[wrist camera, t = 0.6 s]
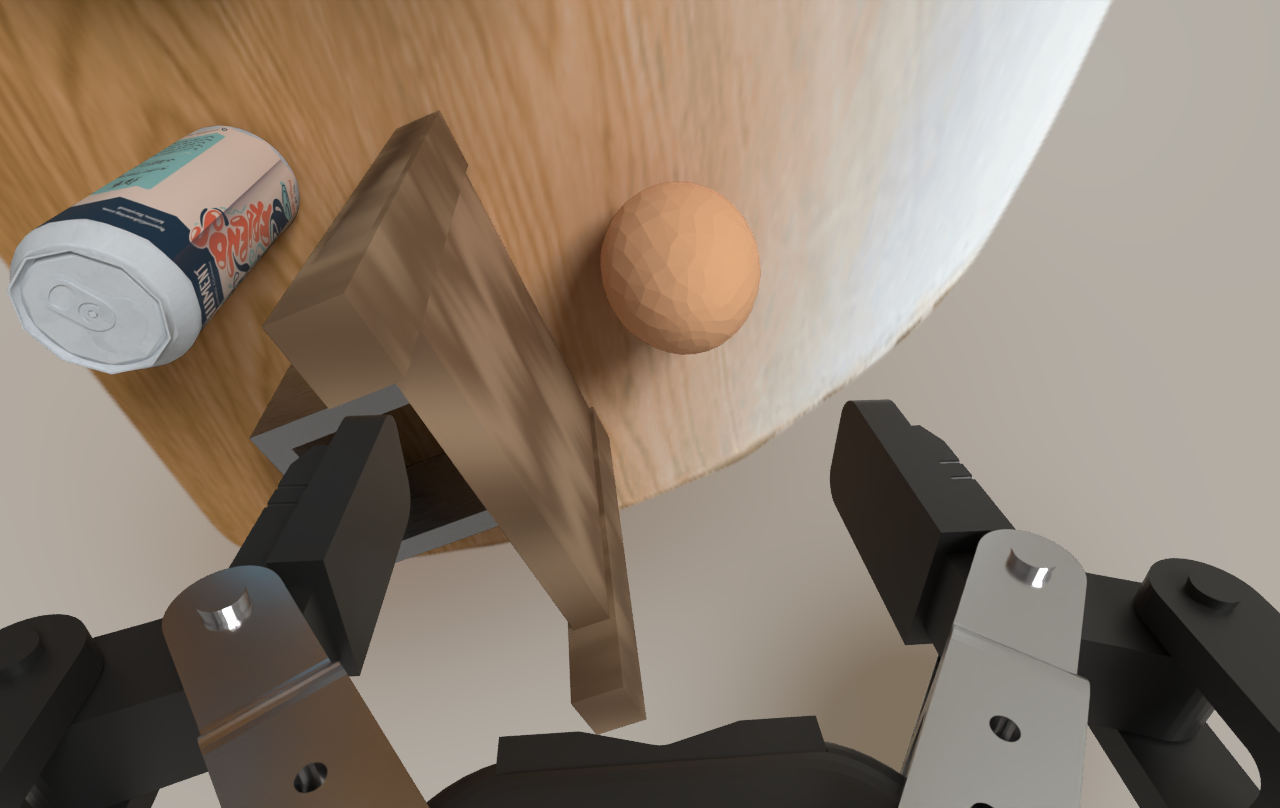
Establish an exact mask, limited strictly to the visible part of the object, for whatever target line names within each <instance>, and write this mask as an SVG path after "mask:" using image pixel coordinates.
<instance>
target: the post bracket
mask: <svg viewBox="0 0 1280 808" xmlns="http://www.w3.org/2000/svg"><path fill="white" fill-rule="evenodd" d="M407 404H409V401H408V400H407V399H406V397H405V396H404V395H403V393H402V392H401V390H400V389H399V388H398V386H397V385H396V384H393V385H390V386H388V387H385V388H383V389H380V390H378V391H375V392H372V393H370V394H367V395H365V396H362V397H360V398H357V399H355V400H352V401H349V402H347V403H344V404H342V405H339V406H337V407H334V408H331V409H329V408H328V407H327V406H326V405H325V404H324V402H323V401H322V400H321V399H320V397H319V396H318V395H317V394H316V393H315V391H314V390H313V389H312V388H311V387H310V385H309V384H308V383H307V382H306V380H305V379H304V378H303V377H302V376H301V374H300V373H299V372H298V371H297V369H296V368H295V367H294V366H293V365H292V364H291V365H290V367H289V368H288V370H287V372H286V374H285V376H284V377H283V379H282V381H281V383H280V385H279V386H278V388H277V390H276V392H275V393H274V395H273V397H272V399H271V401H270V402H269V404H268V406H267V408H266V410H265V411H264V413H263V415H262V417H261V419H260V420H259V422H258V424H257V426H256V428H255V429H254V431H253V433H252V435H251V436H250V438H249V439H250V440H251V441H252V442H253V443H254V444H255V445H256V446H257V447H258V448H259V450H260V451H261V452H262V453H263V454H264V455H265V456H266V457H267V458H268V459H269V460H270V461H271V462H272V463H273V464H274V465H275V466H276V468H277V469H278V470H279V471H280V472H281V473H282V474H283V475H285V473H286V471H287V469H288V468H289V466H290V464H292V463H293V462H294V461H295V460H297V459H298V458H299V457H300V456H302V455H303V454H304V453H306V452H307V451H308V450H309V449H311V448H312V447H313V446H320V445H329V444H330V442H331V440H332V439H333V437H334V435H335V433H336V431H337V429H338V427H339V426H340V424H341V422H342V420H343V419H344V418H345V417H346V416H362V415H381V414H384V413H386V412H389V411H391V410H394V409H396V408H399V407H402V406H404V405H407ZM406 472H407V477H408V482H409V487H410V514H409V519H408V523H407V526H406V529H405V533H404V536H403V539H402V542H401V545H400V549H399V552H398V555H397V558H396V561H395V563H396V562H399V561H402V560H404V559H407V558H410V557H413V556H416V555H418V554H421V553H424V552H427V551H429V550H432V549H435V548H438V547H441V546H443V545H446V544H449V543H452V542H455V541H457V540H460V539H463V538H466V537H469V536H471V535H474V534H477V533H480V532H483V531H485V530H488V529H491V528H494V527H497V526H498V524H497V523H496V522H495V520H494V519H493V517H492V516H491V515H490V513H489V512H488V511H487V509H486V508H485V506H484V505H483V504H482V502H481V501H480V500H479V498H478V497H477V495H476V494H475V493H474V491H473V490H472V488H471V487H470V486H469V484H468V483H467V482H466V480H465V479H464V477H463V476H462V475H461V473H460V472H459V471H458V469H457V468H456V466H455V465H454V464H453V462H452V461H451V459H450V458H449V457H448V455H447V454H446V453H443V454H441V455H438V456H435V457H433V458H430V459H427V460H425V461H422V462H419V463H417V464H414V465H411V466H409V467H406Z"/></svg>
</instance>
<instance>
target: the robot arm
mask: <svg viewBox="0 0 1280 808" xmlns="http://www.w3.org/2000/svg"><path fill="white" fill-rule="evenodd" d="M830 487H831V494H832V498H833V501H834V503H835V506H836V507H837V509H838V512H839V513H840V516H841V518H842V519H843V521H844V524H845V526H846V527H847V529H848V531H849V534H850V535H851V537H852V540H853V542H854V544H855V545H856V548H857V549H858V551H859V554H860V555H861V557H862V560H863V562H864V564H865V566H866V567H867V569H868V572H869V574H870V575H871V578H872V580H873V582H874V584H875V586H876V588H877V590H878V592H879V594H880V596H881V598H882V600H883V601H884V604H885V605H886V608H887V610H888V611H889V614H890V616H891V617H892V619H893V621H894V623H895V626H896V628H897V630H898V631H899V634H900V636H901V637H902V639H903V642H904V644H905V645H915V644H932V643H933V645H934V647H935V649H936V650H937V652H938V657H937V660H936V662H935V665H934V668H933V671H932V674H931V677H930V680H929V684H928V687H927V690H926V693H925V696H924V699H923V702H922V705H921V708H920V712H919V715H918V718H917V721H916V724H915V727H914V730H913V734H912V736H911V740H910V743H909V746H908V749H907V752H906V755H905V758H904V761H903V764H902V767H901V770H900V773H898V772H896V771H895V770H894V769H892V768H891V767H889V766H887V765H885V764H883V763H882V762H880V761H878V760H876V759H874V758H872V757H870V756H868V755H866V754H863V753H861V752H859V751H856V750H854V749H850V748H848V747H844V746H841V745H838V744H834V743H829V742H825V741H824V740H823V737H822V734H821V731H820V728H819V725H818V722H817V719H816V716H801V717H787V718H772V719H758V720H742V721H737V722H734V723H731V724H728V725H725V726H722V727H719V728H716V729H714V730H710V731H707V732H705V733H702V734H698V735H696V736H693V737H690V738H687V739H684V740H681V741H678V742H675V743H672V744H668V745H660V746H659V745H651V744H645V743H640V742H634V741H629V740H623V739H617V738H612V737H606V736H601V735H595V734H590V733H584V732H565V733H550V734H536V735H521V736H505V737H499V744H498V754H497V764H494V765H491V766H488V767H485V768H482V769H480V770H478V771H476V772H474V773H472V774H469V775H467V776H465V777H463V778H461V779H460V780H458V781H456V782H455V783H453V784H451V785H450V786H448V787H447V788H445V789H444V790H442V791H441V792H440V793H438V794H437V795H436V796H434V797H433V798H432V799H430V800H429V801H428V802H427V803H426V801H425V800H424V798H423V796H422V795H421V793H420V791H419V790H418V788H417V787H416V785H415V783H414V782H413V780H412V778H411V777H410V775H409V774H408V772H407V770H406V769H405V767H404V765H403V764H402V762H401V760H400V759H399V757H398V756H397V754H396V752H395V751H394V749H393V748H392V746H391V744H390V743H389V741H388V739H387V738H386V736H385V734H384V733H383V731H382V730H381V728H380V726H379V725H378V723H377V721H376V720H375V718H374V717H373V715H372V714H371V712H370V710H369V708H368V707H367V705H366V704H365V702H364V700H363V699H362V697H361V695H360V694H359V692H358V691H357V689H356V687H355V686H354V684H353V682H352V681H351V679H350V678H349V676H360V673H361V670H362V667H363V664H364V660H365V657H366V654H367V651H368V647H369V644H370V641H371V638H372V634H373V632H374V628H375V625H376V622H377V619H378V615H379V612H380V609H381V606H382V603H383V600H384V596H385V593H386V590H387V587H388V583H389V580H390V577H391V574H392V571H393V568H394V564H395V561H396V558H397V555H398V552H399V549H400V545H401V542H402V539H403V536H404V533H405V529H406V526H407V523H408V519H409V514H410V487H409V482H408V477H407V472H406V467H405V463H404V458H403V453H402V448H401V443H400V439H399V434H398V429H397V425H396V422H395V419H394V417H393V416H392V415H362V416H346V417H345V418H344V419H343V420H342V422H341V424H340V426H339V427H338V429H337V431H336V433H335V435H334V437H333V439H332V440H331V442H330V444H329V445H320V446H313V447H312V448H311V449H309V450H308V451H307V452H306V453H304V454H303V455H302V456H300V457H299V458H298V459H297V460H295V461H294V462H293V463H292V464H290V466H289V468H288V469H287V471H286V473H285V475H284V476H283V478H282V480H281V481H280V483H279V485H278V490H275V491H274V493H273V495H272V496H271V498H270V500H269V501H268V507H266V508H264V510H263V511H262V513H261V515H260V517H259V518H258V520H257V522H256V523H255V525H254V527H253V528H252V530H251V532H250V533H249V535H248V537H247V538H246V540H245V542H244V543H243V545H242V547H241V548H240V550H239V552H238V553H237V555H236V557H235V559H234V560H233V562H232V564H231V565H230V567H229V568H228V569H224V570H221V571H218V572H215V573H213V574H210V575H208V576H206V577H204V578H202V579H200V580H198V581H197V582H195V583H194V584H192V585H190V586H189V587H188V588H186V589H185V590H184V591H182V592H181V593H180V594H179V595H178V596H177V597H176V598H175V599H174V600H173V602H172V603H171V604H170V605H169V607H168V609H167V610H166V612H165V614H164V617H163V618H162V619H158V620H155V621H152V622H149V623H145V624H142V625H138V626H134V627H130V628H127V629H123V630H120V631H117V632H113V633H109V634H105V635H102V636H98V637H95V638H92V637H91V635H90V633H89V632H88V630H87V628H86V627H85V625H84V624H83V623H82V622H81V621H80V620H79V619H77V618H76V617H72V616H69V615H61V614H56V615H55V614H53V615H44V616H38V617H34V618H30V619H26V620H23V621H20V622H17V623H14V624H12V625H10V626H7V627H5V628H2V629H1V630H0V808H151V806H152V804H153V802H154V800H155V798H156V796H157V793H158V791H159V789H160V788H163V787H166V786H169V785H172V784H174V783H177V782H180V781H183V780H186V779H188V778H191V777H194V776H197V775H200V774H203V773H205V772H209V775H210V777H211V780H212V783H213V786H214V788H215V791H216V794H217V797H218V799H219V802H220V805H221V808H1080V802H1081V792H1082V780H1083V769H1084V757H1085V745H1086V734H1087V724H1088V726H1089V727H1090V729H1091V731H1092V732H1093V734H1094V735H1095V737H1096V738H1097V740H1098V742H1099V743H1100V745H1101V747H1102V748H1103V750H1104V751H1105V753H1106V754H1107V756H1108V758H1109V759H1110V761H1111V762H1112V764H1113V766H1114V767H1115V769H1116V770H1117V772H1118V774H1119V775H1120V777H1121V778H1122V780H1123V782H1124V783H1125V785H1126V786H1127V788H1128V790H1129V791H1130V793H1131V794H1132V796H1133V798H1134V799H1135V801H1136V802H1137V804H1138V806H1139V807H1140V808H1280V613H1279V612H1278V611H1277V610H1276V609H1275V608H1274V607H1273V606H1272V605H1271V604H1270V603H1269V602H1267V601H1266V600H1265V599H1264V598H1263V597H1262V596H1261V595H1260V594H1259V593H1258V592H1257V591H1255V590H1254V589H1253V588H1252V587H1250V586H1249V585H1248V584H1246V583H1245V582H1243V581H1242V580H1240V579H1238V578H1237V577H1235V576H1233V575H1231V574H1229V573H1227V572H1225V571H1223V570H1221V569H1218V568H1216V567H1214V566H1211V565H1208V564H1205V563H1202V562H1198V561H1194V560H1188V559H1177V558H1171V559H1164V560H1160V561H1158V562H1156V563H1155V564H1153V565H1152V566H1151V568H1150V570H1149V572H1148V573H1147V575H1146V577H1145V579H1144V581H1143V582H1142V583H1140V582H1134V581H1129V580H1123V579H1118V578H1112V577H1106V576H1101V575H1095V574H1090V573H1086V572H1085V571H1084V569H1083V567H1082V566H1081V564H1080V563H1079V562H1078V561H1077V559H1076V558H1075V557H1074V556H1073V555H1072V554H1071V553H1070V552H1068V551H1067V550H1065V549H1064V548H1063V547H1061V546H1060V545H1058V544H1056V543H1055V542H1053V541H1051V540H1049V539H1047V538H1045V537H1042V536H1039V535H1037V534H1034V533H1030V532H1026V531H1021V530H1016V529H1015V528H1014V527H1013V526H1012V524H1011V523H1010V522H1009V521H1008V519H1007V518H1006V517H1005V516H1004V515H1003V513H1002V512H1001V511H1000V510H999V508H998V507H997V506H996V505H995V503H994V502H993V501H992V500H991V498H990V497H989V496H988V495H987V494H986V492H985V491H984V490H983V489H982V487H981V486H980V485H979V484H978V482H977V481H976V480H975V479H974V480H973V479H972V475H971V474H970V472H969V471H968V470H967V469H966V468H965V466H964V465H963V464H960V463H959V459H958V458H957V456H956V455H955V454H954V453H953V451H952V450H951V449H950V448H949V447H948V445H947V444H946V443H945V442H944V441H943V440H941V439H940V438H938V437H937V436H935V435H934V434H932V433H931V432H929V431H928V430H926V429H924V428H923V427H922V426H920V425H917V426H911V425H910V423H909V422H908V421H907V419H906V418H905V417H904V415H903V414H902V413H901V412H900V410H899V409H898V408H897V406H896V405H895V404H894V403H893V402H892V401H891V400H859V401H858V400H857V401H848V402H846V404H845V405H844V407H843V410H842V414H841V418H840V424H839V429H838V434H837V439H836V444H835V449H834V455H833V459H832V465H831V470H830ZM1214 710H1216V711H1217V713H1218V714H1219V715H1220V716H1221V717H1222V719H1223V720H1224V721H1225V722H1226V724H1227V725H1228V726H1229V727H1230V728H1231V730H1232V731H1233V732H1234V733H1235V735H1236V736H1237V737H1238V738H1239V740H1240V741H1241V742H1242V743H1243V744H1244V746H1245V747H1246V748H1247V749H1248V751H1249V752H1250V753H1251V755H1252V757H1253V758H1254V760H1255V762H1256V765H1257V767H1258V770H1259V773H1260V778H1261V790H1259V789H1258V788H1257V786H1256V785H1255V784H1254V783H1253V781H1252V780H1251V779H1250V778H1249V776H1248V775H1247V774H1246V772H1245V771H1244V770H1243V769H1242V767H1241V766H1240V765H1239V764H1238V762H1237V761H1236V760H1235V759H1234V757H1233V756H1232V755H1231V753H1230V752H1229V751H1228V750H1227V749H1226V747H1225V746H1224V745H1223V743H1222V742H1221V741H1220V740H1219V738H1218V737H1217V736H1216V734H1215V733H1214V732H1213V731H1212V729H1211V728H1210V727H1209V726H1208V724H1207V723H1206V721H1207V719H1208V718H1209V717H1210V715H1211V714H1212V713H1213V711H1214Z"/></svg>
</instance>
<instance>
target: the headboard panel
mask: <svg viewBox="0 0 1280 808" xmlns="http://www.w3.org/2000/svg"><path fill="white" fill-rule="evenodd" d="M467 167H468V164H467V162H466V160H465V158H464V156H463V154H462V153H461V151H460V149H459V147H458V145H457V143H456V141H455V139H454V137H453V135H452V133H451V131H450V129H449V127H448V125H447V124H446V122H445V120H444V118H443V116H442V114H441V112H440V110H439V111H437V112H434V113H432V114H430V115H427V116H425V117H423V118H421V119H418V120H416V121H414V122H411V123H409V124H407V125H405V126H402V127H400V128H398V129H396V130H395V132H394V133H393V135H392V136H391V138H390V139H389V141H388V142H387V144H386V145H385V147H384V148H383V149H382V151H381V152H380V154H379V155H378V157H377V158H376V160H375V161H374V163H373V164H372V166H371V167H370V169H369V170H368V172H367V173H366V174H365V176H364V177H363V179H362V180H361V182H360V183H359V185H358V186H357V188H356V189H355V191H354V192H353V194H352V195H351V197H350V198H349V199H348V201H347V202H346V204H345V205H344V207H343V208H342V210H341V211H340V213H339V214H338V216H337V217H336V219H335V220H334V221H333V223H332V224H331V226H330V227H329V229H328V230H327V232H326V233H325V235H324V236H323V238H322V239H321V241H320V242H319V244H318V245H317V246H316V248H315V249H314V251H313V252H312V254H311V255H310V257H309V258H308V260H307V261H306V263H305V264H304V266H303V267H302V269H301V270H300V271H299V273H298V274H297V276H296V277H295V279H294V280H293V282H292V283H291V285H290V286H289V288H288V289H287V291H286V292H285V294H284V295H283V296H282V298H281V299H280V301H279V302H278V304H277V305H276V307H275V308H274V310H273V311H272V313H271V314H270V316H269V317H268V319H267V320H266V321H265V323H264V324H263V326H262V328H263V329H264V331H265V332H266V333H267V334H268V335H269V337H270V338H271V339H272V340H273V341H274V343H275V344H276V345H277V346H278V348H279V349H280V350H281V351H282V352H283V354H284V355H285V356H286V357H287V359H288V360H289V361H290V362H291V363H292V365H293V366H294V367H295V368H296V369H297V371H298V372H299V373H300V374H301V376H302V377H303V378H304V379H305V380H306V382H307V383H308V384H309V385H310V387H311V388H312V389H313V390H314V391H315V393H316V394H317V395H318V396H319V397H320V399H321V400H322V401H323V402H324V404H325V405H326V406H327V407H328V408H329V409H331V408H334V407H337V406H339V405H342V404H344V403H347V402H349V401H352V400H355V399H357V398H360V397H362V396H365V395H367V394H370V393H372V392H375V391H378V390H380V389H383V388H385V387H388V386H390V385H393V384H396V385H397V386H398V388H399V389H400V390H401V392H402V393H403V395H404V396H405V397H406V399H407V400H408V401H409V403H410V404H411V406H412V407H413V408H414V410H415V411H416V412H417V414H418V415H419V417H420V418H421V419H422V421H423V422H424V424H425V425H426V426H427V428H428V429H429V430H430V432H431V433H432V435H433V436H434V437H435V439H436V440H437V442H438V443H439V444H440V446H441V447H442V448H443V450H444V451H445V453H446V454H447V455H448V457H449V458H450V459H451V461H452V462H453V464H454V465H455V466H456V468H457V469H458V471H459V472H460V473H461V475H462V476H463V477H464V479H465V480H466V482H467V483H468V484H469V486H470V487H471V488H472V490H473V491H474V493H475V494H476V495H477V497H478V498H479V500H480V501H481V502H482V504H483V505H484V506H485V508H486V509H487V511H488V512H489V513H490V515H491V516H492V517H493V519H494V520H495V522H496V523H497V524H498V526H499V527H500V529H501V530H502V531H503V533H504V534H505V535H506V537H507V538H508V540H509V541H510V542H511V544H512V545H513V546H514V548H515V549H516V551H517V552H518V553H519V555H520V556H521V558H522V559H523V560H524V562H525V563H526V564H527V566H528V567H529V569H530V570H531V571H532V572H533V574H534V575H535V577H536V578H537V579H538V581H539V582H540V583H541V585H542V587H543V588H544V589H545V591H546V592H547V593H548V595H549V596H550V597H551V599H552V600H553V602H554V603H555V604H556V606H557V607H558V608H559V610H560V611H561V613H562V614H563V616H564V617H565V618H566V620H567V621H568V635H569V636H568V638H569V662H570V687H571V704H572V705H573V707H574V708H575V709H576V710H577V711H578V713H579V714H580V715H581V716H582V718H583V719H584V720H585V721H586V722H587V724H588V725H589V726H590V727H591V728H592V730H593V731H594V732H595V733H596V735H598V734H601V733H604V732H607V731H610V730H613V729H617V728H620V727H623V726H626V725H629V724H633V723H636V722H639V721H642V720H645V719H646V713H645V705H644V697H643V690H642V683H641V675H640V667H639V660H638V653H637V646H636V637H635V630H634V622H633V614H632V607H631V599H630V592H629V584H628V577H627V569H626V562H625V554H624V547H623V539H622V533H621V524H620V516H619V509H618V501H617V494H616V486H615V479H614V471H613V464H612V456H611V449H610V441H609V437H608V435H607V433H606V431H605V429H604V427H603V425H602V423H601V421H600V419H599V417H598V416H597V414H596V412H595V410H594V408H593V407H592V408H588V406H587V404H586V402H585V400H584V398H583V396H582V394H581V392H580V391H579V389H578V387H577V385H576V383H575V381H574V379H573V377H572V375H571V373H570V371H569V370H568V368H567V366H566V364H565V362H564V360H563V358H562V356H561V354H560V352H559V350H558V348H557V347H556V345H555V343H554V341H553V339H552V337H551V335H550V333H549V331H548V329H547V327H546V326H545V324H544V322H543V320H542V318H541V316H540V314H539V312H538V310H537V308H536V306H535V304H534V303H533V301H532V299H531V297H530V295H529V293H528V291H527V289H526V287H525V285H524V283H523V282H522V280H521V278H520V276H519V274H518V272H517V270H516V268H515V266H514V264H513V262H512V260H511V259H510V257H509V255H508V253H507V251H506V249H505V247H504V245H503V243H502V241H501V239H500V238H499V236H498V234H497V232H496V230H495V228H494V226H493V224H492V222H491V220H490V218H489V217H488V215H487V213H486V211H485V209H484V207H483V205H482V203H481V201H480V199H479V197H478V195H477V194H476V192H475V190H474V188H473V186H472V184H471V182H470V180H469V178H468V176H467V174H466V170H467Z"/></svg>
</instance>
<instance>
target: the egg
mask: <svg viewBox="0 0 1280 808" xmlns="http://www.w3.org/2000/svg"><path fill="white" fill-rule="evenodd" d="M600 268H601V274H602V281H603V286H604V289H605V292H606V295H607V298H608V302H609V304H610V306H611V308H612V309H613V311H614V313H615V314H616V316H617V318H618V319H619V320H620V321H621V323H622V324H623V325H624V326H625V327H626V328H627V329H628V331H629V332H630V333H632V334H633V335H635V336H636V337H638V338H639V339H641V340H642V341H644V342H645V343H647V344H649V345H651V346H653V347H655V348H657V349H660V350H663V351H666V352H669V353H675V354H681V355H684V354H697V353H701V352H706V351H709V350H711V349H713V348H715V347H718V346H720V345H721V344H723V343H724V342H725V341H727V340H728V339H730V338H731V337H732V336H733V335H734V334H735V333H736V332H737V331H738V330H739V329H740V328H741V326H742V325H743V324H744V323H745V321H746V320H747V318H748V316H749V314H750V312H751V311H752V308H753V305H754V302H755V299H756V296H757V293H758V289H759V283H760V276H761V270H760V262H759V254H758V249H757V243H756V241H755V239H754V236H753V234H752V232H751V230H750V228H749V226H748V224H747V222H746V220H745V218H744V217H743V216H742V215H741V214H740V213H739V211H738V210H737V209H736V208H735V207H734V206H733V204H732V203H731V202H730V201H728V200H727V199H726V198H725V197H723V196H721V195H720V194H718V193H717V192H715V191H713V190H712V189H710V188H706V187H703V186H700V185H696V184H693V183H689V182H667V183H663V184H658V185H654V186H652V187H650V188H647V189H645V190H643V191H641V192H639V193H638V194H637V195H635V196H634V197H633V198H631V199H630V200H629V201H627V202H626V203H625V204H624V205H623V206H622V208H621V209H620V210H619V211H618V213H617V214H616V215H615V216H614V218H613V219H612V221H611V224H610V226H609V228H608V230H607V233H606V235H605V237H604V241H603V245H602V249H601V263H600Z"/></svg>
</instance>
